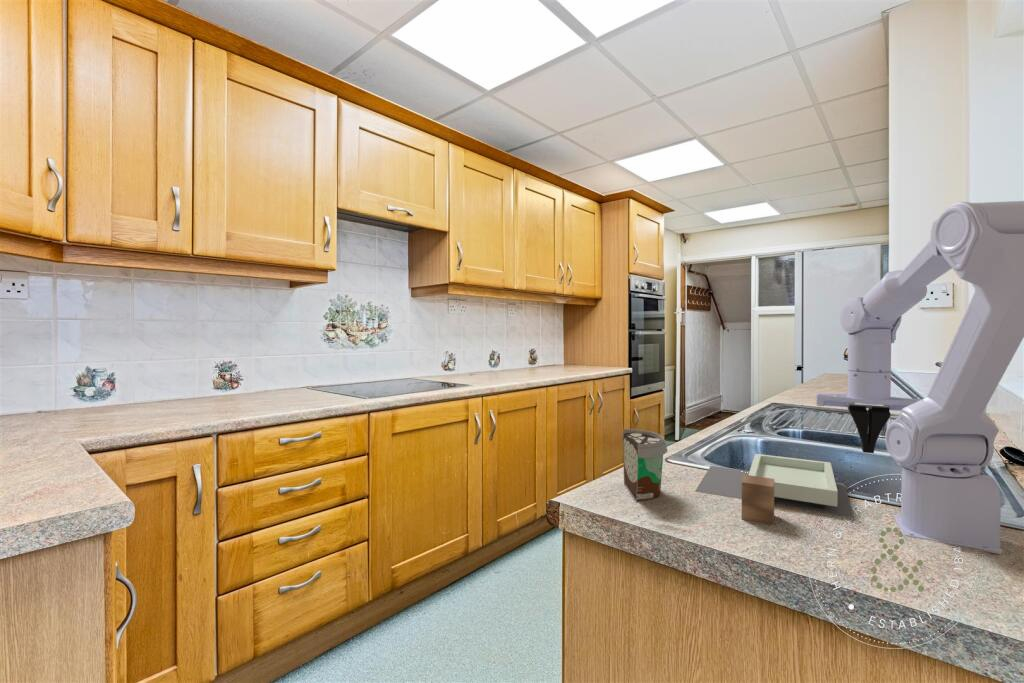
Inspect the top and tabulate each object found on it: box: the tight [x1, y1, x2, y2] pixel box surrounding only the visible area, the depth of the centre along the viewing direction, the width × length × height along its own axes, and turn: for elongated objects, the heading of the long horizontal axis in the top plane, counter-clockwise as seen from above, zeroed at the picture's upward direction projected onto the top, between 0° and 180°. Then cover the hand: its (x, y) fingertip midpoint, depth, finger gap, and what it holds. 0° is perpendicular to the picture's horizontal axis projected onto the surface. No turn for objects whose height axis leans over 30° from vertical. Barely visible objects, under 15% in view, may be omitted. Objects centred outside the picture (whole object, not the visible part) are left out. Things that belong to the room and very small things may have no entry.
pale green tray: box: [749, 453, 838, 508], centre depth 79 cm, size 12×17×4 cm
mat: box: [694, 465, 855, 519], centre depth 81 cm, size 22×17×1 cm
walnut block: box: [741, 475, 775, 526], centre depth 68 cm, size 4×4×6 cm
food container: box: [621, 428, 668, 504], centre depth 80 cm, size 12×6×10 cm, turn 179°
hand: (867, 451), depth 78 cm, fingers closed
